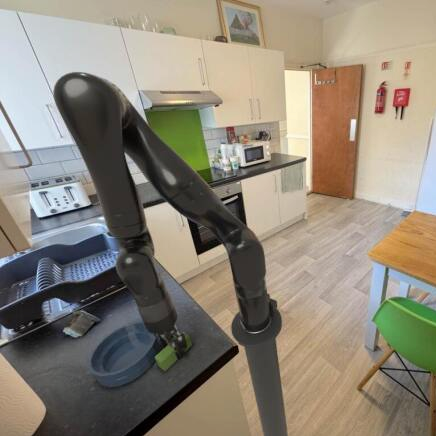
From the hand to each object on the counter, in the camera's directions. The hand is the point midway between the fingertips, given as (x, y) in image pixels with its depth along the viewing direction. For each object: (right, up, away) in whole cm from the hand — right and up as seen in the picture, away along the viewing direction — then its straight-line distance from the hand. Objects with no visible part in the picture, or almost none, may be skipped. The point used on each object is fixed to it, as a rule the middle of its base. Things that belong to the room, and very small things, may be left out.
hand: (174, 351), depth 69 cm
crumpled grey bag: (-37, +2, +11) cm, 39 cm away
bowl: (-13, -2, 0) cm, 13 cm away
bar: (0, -1, 0) cm, 1 cm away
